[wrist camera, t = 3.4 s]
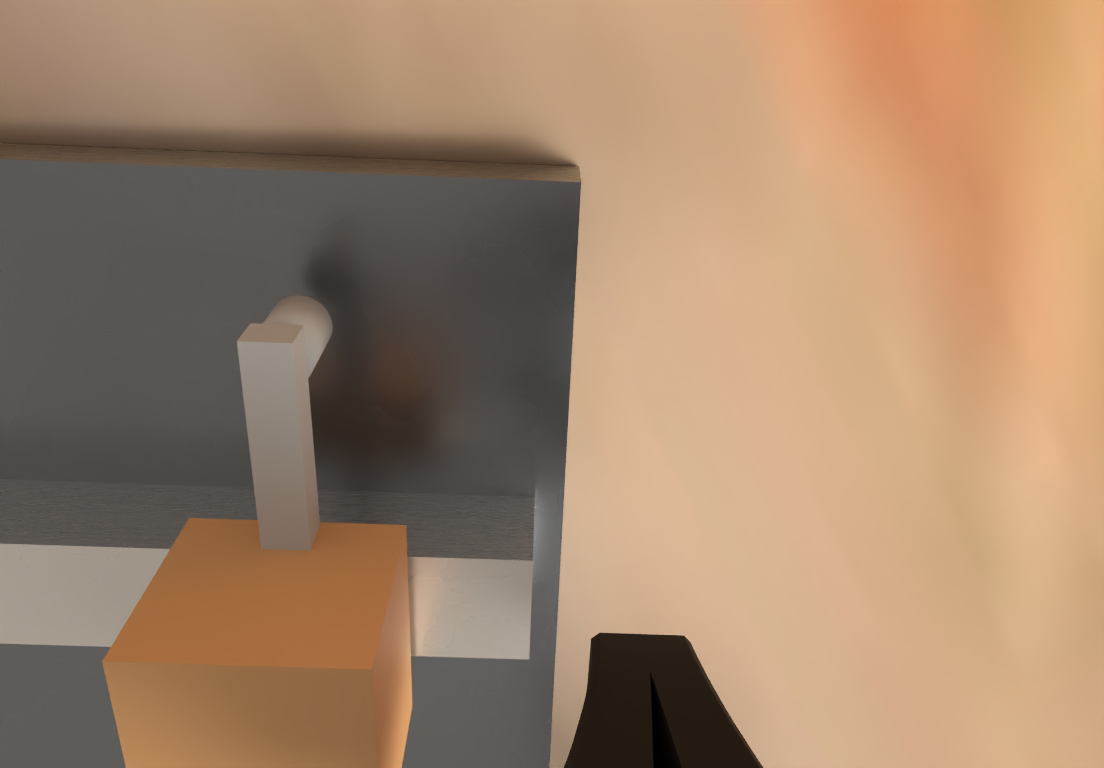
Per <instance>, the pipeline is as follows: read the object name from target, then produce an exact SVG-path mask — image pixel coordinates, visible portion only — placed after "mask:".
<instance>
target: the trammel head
mask: <svg viewBox="0 0 1104 768" xmlns="http://www.w3.org/2000/svg"><path fill="white" fill-rule="evenodd" d="M332 330H333V325H332V320H331V317H330V314H329V313H328V311H327V310H326V308H325V307H324V306H323V305H322V304H321V303H319V302H318V301H316V300H314V299H312V298H310V297H307V296H301V295H295V296H290V297H287V298H284V299H283V300H281V301H280V302H278V303H277V305H276V306H275V307H274V308H273V310H272V311H271V313H270V314H269V315H268V317H267V318H266V320H265V321H264V322H263V324H258V323H250V324H249V326H248V327H247V328H246V330H245V331H244V332H243V334H242V335H241V336H240V338H239V339H238V340H237V347H238V356H239V364H240V373H241V382H242V390H243V399H244V407H245V416H246V424H247V433H248V441H249V450H250V458H251V467H252V475H253V484H254V492H255V501H256V509H257V518H258V520H237V519H206V518H189V519H188V521H187V522H186V524H185V526H184V527H183V529H182V531H181V532H180V534H179V536H178V537H177V539H176V541H175V542H174V544H173V546H172V547H171V549H170V550H169V552H168V554H167V555H166V557H165V559H164V560H163V562H162V564H161V565H160V567H159V569H158V570H157V572H156V574H155V575H154V577H153V578H152V580H151V582H150V583H149V585H148V587H147V588H146V590H145V592H144V593H143V595H142V597H141V598H140V600H139V602H138V603H137V605H136V606H135V608H134V610H133V611H132V613H131V615H130V616H129V618H128V620H127V621H126V623H125V625H124V626H123V628H122V630H121V631H120V633H119V634H118V636H117V638H116V639H115V641H114V643H113V644H112V646H111V648H110V649H109V651H108V653H107V654H106V656H105V658H104V659H103V661H102V663H103V667H104V672H105V676H106V681H107V685H108V690H109V694H110V699H111V703H112V708H113V712H114V717H115V721H116V726H117V730H118V735H119V739H120V744H121V748H122V753H123V757H124V762H125V766H126V768H402V762H403V757H404V751H405V745H406V740H407V734H408V728H409V723H410V717H411V711H412V678H411V649H410V619H409V589H408V560H407V530H406V525H389V524H359V523H328V522H320V517H319V505H318V493H317V481H316V468H315V456H314V444H313V432H312V420H311V408H310V396H309V383H308V378H309V377H310V375H311V373H312V371H313V369H314V368H315V366H316V364H317V362H318V360H319V358H320V356H321V354H322V353H323V351H324V349H325V347H326V345H327V343H328V341H329V339H330V337H331V335H332Z"/></svg>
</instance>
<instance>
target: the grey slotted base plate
mask: <svg viewBox="0 0 1104 768" xmlns="http://www.w3.org/2000/svg"><path fill="white" fill-rule="evenodd" d="M580 190H581V179H580V170H579V166H558V165H533V164H508V163H483V162H458V161H433V160H409V159H384V158H359V157H334V156H309V155H284V154H259V153H234V152H209V151H184V150H159V149H134V148H110V147H85V146H60V145H35V144H10V143H0V768H126V766H125V762H124V757H123V753H122V748H121V744H120V739H119V735H118V730H117V726H116V721H115V717H114V712H113V708H112V703H111V699H110V694H109V690H108V685H107V681H106V676H105V672H104V667H103V663H102V661H103V659H104V658H105V656H106V654H107V653H108V651H109V649H110V648H111V646H112V644H113V643H114V641H115V639H116V638H117V636H118V634H119V633H120V631H121V630H122V628H123V626H124V625H125V623H126V621H127V620H128V618H129V616H130V615H131V613H132V611H133V610H134V608H135V606H136V605H137V603H138V602H139V600H140V598H141V597H142V595H143V593H144V592H145V590H146V588H147V587H148V585H149V583H150V582H151V580H152V578H153V577H154V575H155V574H156V572H157V570H158V569H159V567H160V565H161V564H162V562H163V560H164V559H165V557H166V555H167V554H168V552H169V550H170V549H171V547H172V546H173V544H174V542H175V541H176V539H177V537H178V536H179V534H180V532H181V531H182V529H183V527H184V526H185V524H186V522H187V521H188V519H189V518H206V519H237V520H258V518H257V509H256V501H255V492H254V484H253V475H252V467H251V458H250V450H249V441H248V433H247V424H246V416H245V407H244V399H243V390H242V382H241V373H240V364H239V356H238V347H237V340H238V339H239V338H240V336H241V335H242V334H243V332H244V331H245V330H246V328H247V327H248V326H249V324H250V323H258V324H263V322H264V321H265V320H266V318H267V317H268V315H269V314H270V313H271V311H272V310H273V308H274V307H275V306H276V305H277V303H278V302H280V301H281V300H283V299H284V298H287V297H290V296H295V295H301V296H307V297H310V298H312V299H314V300H316V301H318V302H319V303H321V304H322V305H323V306H324V307H325V308H326V310H327V311H328V313H329V314H330V317H331V320H332V325H333V330H332V335H331V337H330V339H329V341H328V343H327V345H326V347H325V349H324V351H323V353H322V354H321V356H320V358H319V360H318V362H317V364H316V366H315V368H314V369H313V371H312V373H311V375H310V377H309V378H308V383H309V396H310V408H311V420H312V432H313V444H314V456H315V468H316V481H317V493H318V505H319V517H320V522H328V523H359V524H389V525H406V530H407V560H408V589H409V619H410V649H411V678H412V711H411V717H410V723H409V728H408V734H407V740H406V745H405V751H404V757H403V762H402V768H549V760H550V741H551V723H552V704H553V686H554V668H555V649H556V631H557V612H558V594H559V576H560V557H561V539H562V521H563V502H564V484H565V465H566V447H567V429H568V410H569V392H570V373H571V355H572V337H573V318H574V300H575V282H576V263H577V245H578V226H579V208H580Z"/></svg>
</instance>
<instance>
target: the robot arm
mask: <svg viewBox="0 0 1104 768" xmlns="http://www.w3.org/2000/svg"><path fill="white" fill-rule="evenodd" d="M564 768H763V766H762V765H761V764H760V762H759V761H758V759H757V758H756V756H755V755H754V753H753V751H752V750H751V748H750V747H749V745H748V744H747V742H746V741H745V739H744V738H743V736H742V734H741V733H740V731H739V730H738V728H737V727H736V725H735V724H734V722H733V720H732V719H731V717H730V715H729V714H728V712H727V710H726V709H725V707H724V705H723V703H722V702H721V700H720V698H719V696H718V695H717V693H716V691H715V689H714V688H713V686H712V684H711V682H710V680H709V679H708V677H707V675H706V673H705V671H704V669H703V667H702V665H701V663H700V661H699V659H698V657H697V655H696V653H695V651H694V649H693V647H692V645H691V643H690V641H689V640H688V639H687V638H686V637H685V636H678V635H648V634H618V633H599V634H597V635H596V636H595V637H593V638H592V639H591V648H590V660H589V673H588V685H587V693H586V697H585V702H584V706H583V709H582V713H581V716H580V720H579V723H578V727H577V730H576V734H575V737H574V741H573V744H572V747H571V750H570V753H569V756H568V758H567V761H566V764H565V766H564Z"/></svg>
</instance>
